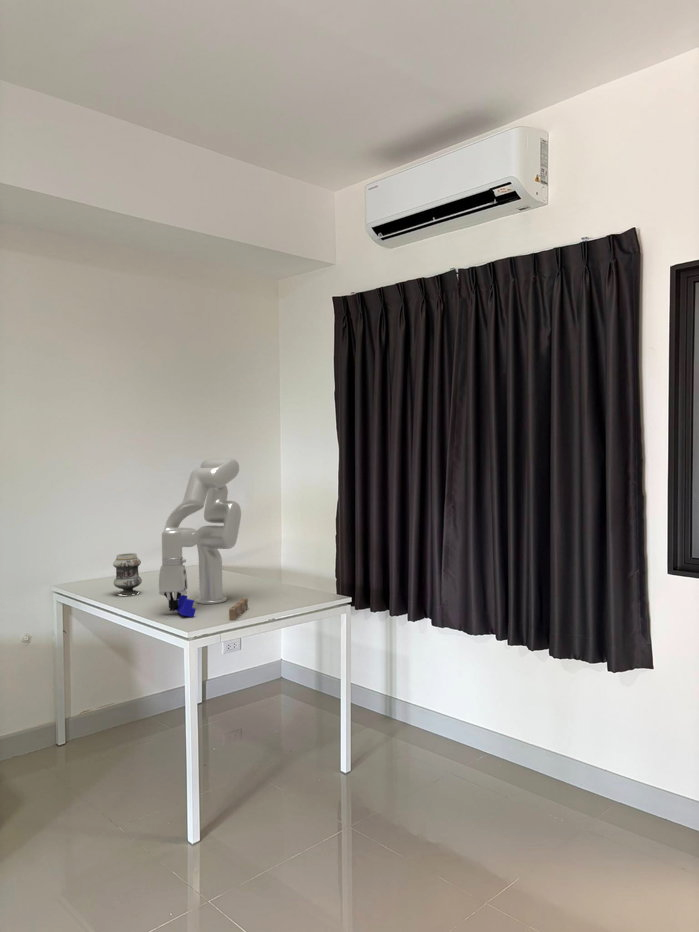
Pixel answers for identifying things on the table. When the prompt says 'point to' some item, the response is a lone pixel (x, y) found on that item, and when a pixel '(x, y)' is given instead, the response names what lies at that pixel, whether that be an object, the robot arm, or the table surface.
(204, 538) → the robot arm
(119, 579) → the apothecary jar
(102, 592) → the table surface
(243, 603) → the walnut rail
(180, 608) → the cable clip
